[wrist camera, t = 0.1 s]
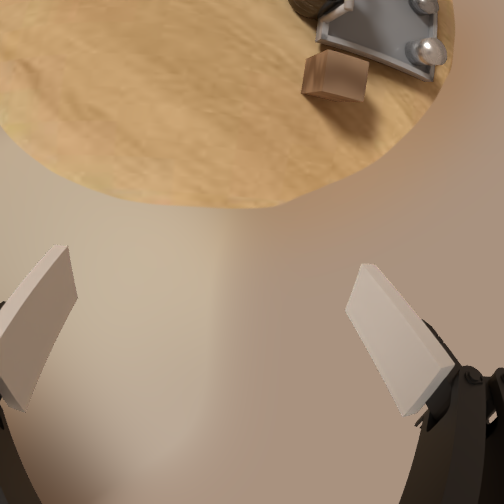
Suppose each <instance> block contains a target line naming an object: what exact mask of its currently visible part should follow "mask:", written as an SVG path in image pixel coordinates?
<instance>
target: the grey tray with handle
mask: <svg viewBox="0 0 504 504" xmlns="http://www.w3.org/2000/svg"><path fill="white" fill-rule="evenodd" d="M436 1H437V0H436ZM431 37H434V38H437V12H436V13H433V14H428V15H424V16H420V15H418V14H416V13H415V12H414V11H413V10H412V9H411V7H410V5H409V0H344V4H342V5H341V6H339V7H338V8H336V9H335V10H333V11H332V12H330V13H329V14H326V15H323V16H322V17H320V18H319V19H318V25H317V32H316V40H315V42H317V43H321V44H325V45H328V46H332V47H335V48H339V49H342V50H345V51H348V52H352V53H355V54H358V55H361V56H363V57H366V58H369V59H372V60H375V61H377V62H380V63H383V64H385V65H388V66H390V67H393V68H395V69H397V70H400V71H402V72H404V73H407V74H409V75H411V76H413V77H416V78H418V79H420V80H422V81H424V82H433V79H434V69H435V65H428V66H415V65H413V64H412V63H410V62H409V60H408V59H407V57H406V55H405V45H406V43H407V42H409V41H414V40H419V39H425V38H431Z"/></svg>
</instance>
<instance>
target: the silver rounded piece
mask: <svg viewBox="0 0 504 504" xmlns="http://www.w3.org/2000/svg"><path fill="white" fill-rule="evenodd" d="M405 55H406V57H407V59H408V60H409V62H410V63H412V64H413V65H415V66H428V65H443V64H444V63H445V62H446V60H447V51H446V48H445V46H444V45H443V43H442V42H441V41H440V40H439V39H437V38H434V37H431V38H425V39H419V40H414V41H409V42H407V43H406V45H405Z"/></svg>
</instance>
